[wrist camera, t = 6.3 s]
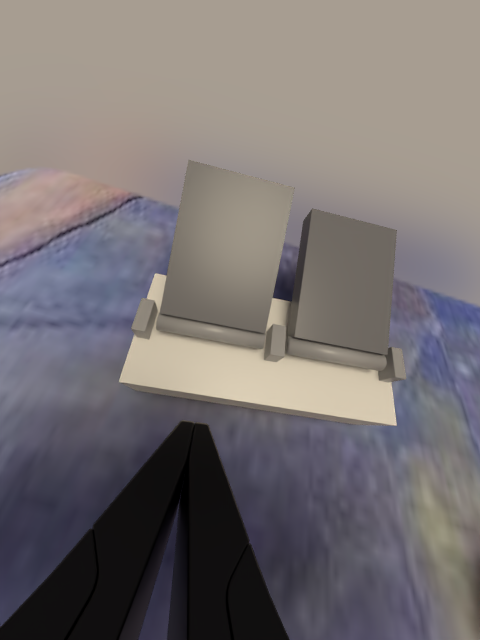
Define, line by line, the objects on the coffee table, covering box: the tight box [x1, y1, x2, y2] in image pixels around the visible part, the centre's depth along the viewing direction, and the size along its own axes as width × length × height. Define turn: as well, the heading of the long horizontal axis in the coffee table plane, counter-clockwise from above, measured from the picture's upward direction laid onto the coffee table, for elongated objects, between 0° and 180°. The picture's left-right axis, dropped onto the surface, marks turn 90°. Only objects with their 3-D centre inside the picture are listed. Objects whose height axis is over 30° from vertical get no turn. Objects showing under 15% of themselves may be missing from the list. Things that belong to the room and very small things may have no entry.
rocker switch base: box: [119, 273, 406, 426], centre depth 14 cm, size 6×14×5 cm, turn 82°
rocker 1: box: [156, 160, 295, 349], centre depth 12 cm, size 1×5×8 cm
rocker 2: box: [285, 209, 397, 371], centre depth 13 cm, size 1×5×8 cm
